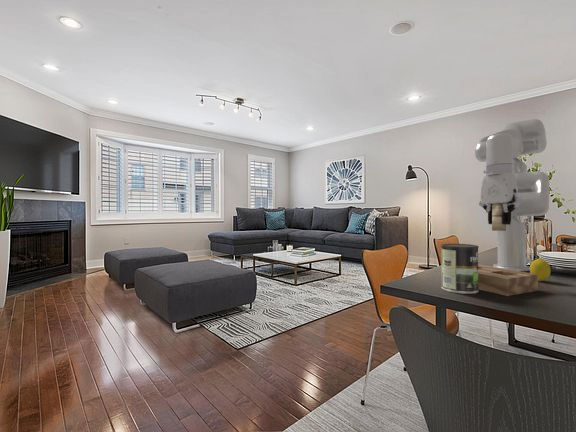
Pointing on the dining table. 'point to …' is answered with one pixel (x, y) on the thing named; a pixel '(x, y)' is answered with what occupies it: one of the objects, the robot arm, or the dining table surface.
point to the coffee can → (460, 268)
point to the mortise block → (506, 281)
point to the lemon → (540, 269)
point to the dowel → (497, 217)
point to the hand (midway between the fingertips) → (499, 223)
